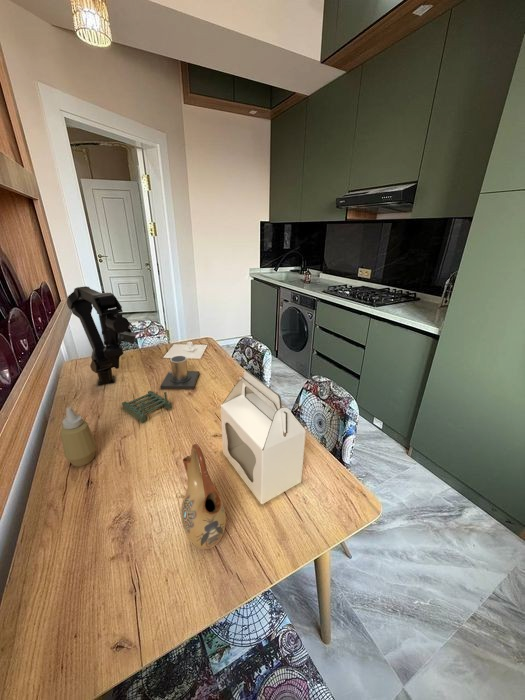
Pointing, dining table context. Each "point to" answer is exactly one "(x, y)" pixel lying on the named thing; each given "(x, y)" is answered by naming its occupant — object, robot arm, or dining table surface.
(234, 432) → the gable box
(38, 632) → the dining table surface
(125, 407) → the dish rack
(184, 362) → the steel pot
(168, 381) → the hob
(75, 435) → the squeeze bottle
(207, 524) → the ceramic vessel
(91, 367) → the robot arm
